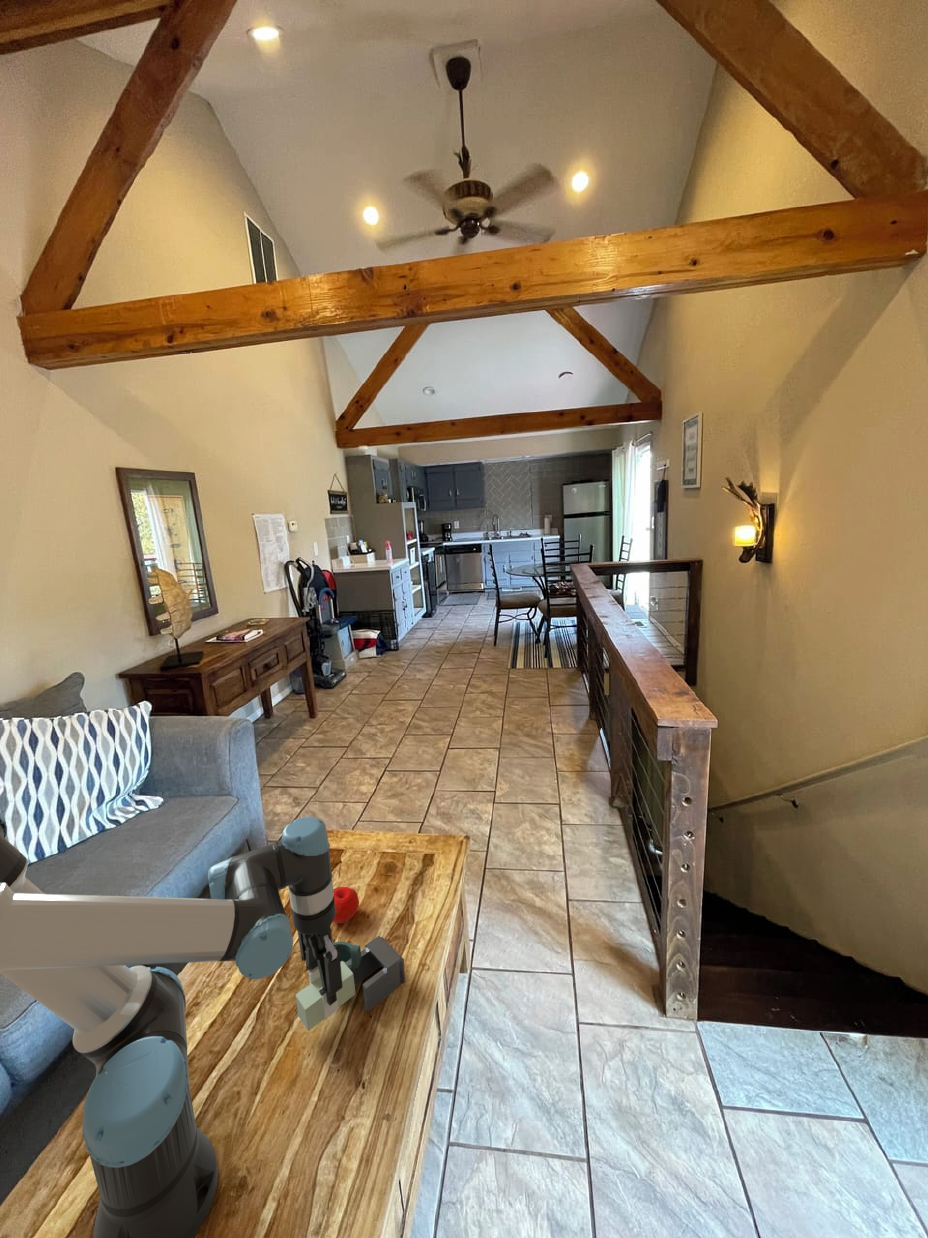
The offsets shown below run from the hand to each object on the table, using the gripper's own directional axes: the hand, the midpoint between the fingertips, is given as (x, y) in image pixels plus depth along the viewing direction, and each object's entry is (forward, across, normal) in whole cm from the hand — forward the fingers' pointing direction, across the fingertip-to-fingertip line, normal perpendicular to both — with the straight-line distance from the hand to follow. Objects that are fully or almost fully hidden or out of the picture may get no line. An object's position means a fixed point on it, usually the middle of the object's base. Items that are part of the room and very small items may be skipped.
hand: (325, 1004), depth 97 cm
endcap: (+5, 0, -11) cm, 12 cm away
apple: (+5, +20, -15) cm, 26 cm away
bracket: (+4, +7, -6) cm, 10 cm away
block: (+1, 0, 0) cm, 1 cm away
